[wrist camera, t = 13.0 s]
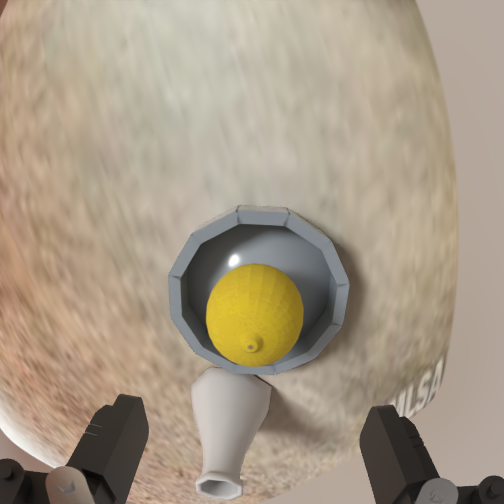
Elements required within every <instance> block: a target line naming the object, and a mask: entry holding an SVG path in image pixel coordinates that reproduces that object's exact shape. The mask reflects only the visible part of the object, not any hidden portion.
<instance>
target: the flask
mask: <svg viewBox="0 0 504 504" xmlns="http://www.w3.org/2000/svg"><path fill="white" fill-rule="evenodd" d="M271 389H272V387H271V386H269V385H268V384H266V383H265V382H263V381H261V380H260V379H258V378H257V377H255V376H254V375H252V374H237V373H233V372H232V373H231V372H229V371H227V370H225V369H223V368H214V367H210V368H208V369H207V370H206V371H205V372H204V373H203V374H202V375H201V376H200V377H199V378H198V379H197V380H196V381H195V382H194V383H193V384H192V385H191V400H192V410H193V415H194V418H195V422H196V425H197V429H198V432H199V437H200V441H201V445H202V449H203V469H202V474H201V476H200V477H199V478H197V480H196V483H195V484H196V490H197V492H198V493H200V494H202V495H205V496H207V497H210V498H212V499H221V500H233V499H235V498H237V497H239V496H241V495H243V485H244V483H243V481H242V480H241V479H240V471H241V467H242V464H243V461H244V457H245V454H246V452H247V450H248V448H249V446H250V445H251V443H252V441H253V439H254V437H255V435H256V433H257V431H258V429H259V428H260V426H261V424H262V422H263V421H264V419H265V417H266V415H267V413H268V411H269V405H270V397H271Z"/></svg>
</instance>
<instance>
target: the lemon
mask: <svg viewBox="0 0 504 504" xmlns="http://www.w3.org/2000/svg"><path fill="white" fill-rule="evenodd" d="M303 312H304V309H303V304H302V299H301V295H300V293H299V291H298V289H297V288H296V286H295V284H294V282H293V281H292V280H291V279H290V278H289V277H288V276H287V275H286V274H285V273H283V272H282V271H280V270H278V269H277V268H275V267H272V266H269V265H266V264H255V263H252V264H246V265H241V266H239V267H237V268H235V269H233V270H231V271H229V272H228V273H227V274H226V275H224V276H223V277H222V278H221V279H220V280H219V281H218V283H217V284H216V286H215V287H214V288H213V290H212V292H211V295H210V297H209V300H208V303H207V311H206V324H207V328H208V333H209V336H210V338H211V340H212V342H213V344H214V346H215V348H216V349H217V350H218V351H219V352H220V353H221V354H222V355H223V356H224V357H226V358H227V359H229V360H230V361H232V362H234V363H236V364H239V365H242V366H248V367H261V366H265V365H269V364H272V363H274V362H276V361H278V360H280V359H281V358H282V357H284V356H285V355H286V354H287V353H288V352H289V351H290V350H291V349H292V347H293V346H294V344H295V343H296V341H297V340H298V337H299V334H300V331H301V328H302V325H303Z"/></svg>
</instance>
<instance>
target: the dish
mask: <svg viewBox="0 0 504 504" xmlns="http://www.w3.org/2000/svg"><path fill="white" fill-rule="evenodd" d="M252 263H255V264H266V265H269V266H272V267H275V268H277V269H278V270H280V271H282V272H283V273H285V274H286V275H287V276H288V277H289V278H290V279H291V280H292V281H293V282H294V284H295V286H296V288H297V289H298V291H299V293H300V295H301V299H302V304H303V309H304V312H303V325H302V328H301V331H300V334H299V337H298V340H297V341H296V343H295V344H294V346H293V347H292V349H291V350H290V351H289V352H288V353H287V354H286V355H285V356H284V357H282V358H281V359H280V360H278V361H276V362H274V363H272V364H269V365H265V366H261V367H248V366H242V365H239V364H236V363H234V362H232V361H230V360H229V359H227V358H226V357H224V356H223V355H222V354H221V353H220V352H219V351H218V350H217V349H216V348H215V346H214V344H213V342H212V340H211V338H210V336H209V333H208V328H207V324H206V311H207V303H208V300H209V297H210V295H211V292H212V290H213V288H214V287H215V286H216V284H217V283H218V281H219V280H220V279H221V278H222V277H223V276H224V275H226V274H227V273H228V272H229V271H231V270H233V269H235V268H237V267H239V266H241V265H246V264H252ZM168 283H169V301H170V317H172V318H171V319H172V321H173V322H174V324H175V325H176V327H177V328H178V330H179V331H180V333H181V334H182V336H183V337H184V339H185V340H186V342H187V343H188V344H189V346H190V347H191V349H192V350H193V352H196V353H195V354H197V355H199V356H201V357H203V358H204V359H206V360H208V361H210V362H212V363H214V364H216V365H217V366H219V367H221V368H223V369H225V370H227V371H229V372H231V373H232V372H233V373H237V374H256V375H275V374H276V375H277V374H280V373H282V372H285V371H287V370H290V369H292V368H294V367H297V366H299V365H302V364H304V363H306V362H309V361H311V360H313V359H314V358H316V357H317V356H318V355H319V354H320V352H321V351H322V350H323V349H324V348H325V347H326V345H327V344H328V343H329V342H330V341H331V340H332V338H333V337H334V336H335V335H336V333H337V332H338V331H339V330H340V329H341V327H342V325H343V321H344V316H345V310H346V304H347V298H348V292H349V286H350V284H349V283H350V282H349V280H348V278H347V275H346V273H345V270H344V268H343V266H342V263H341V261H340V259H339V257H338V254H337V252H336V250H335V247H334V245H333V243H332V241H331V240H330V239H329V238H328V237H327V236H326V235H325V234H324V233H323V232H322V231H321V230H319V229H318V228H316V227H315V226H313V225H312V224H310V223H309V222H307V221H306V220H304V219H303V218H301V217H300V216H298V215H297V214H295V213H294V212H292V211H291V210H289V209H288V208H285V207H270V206H250V205H240V206H239V205H238V206H236V207H235V208H233V209H231V210H229V211H227V212H225V213H223V214H221V215H219V216H217V217H215V218H214V219H212V220H210V221H208V222H206V223H204V224H202V225H200V226H199V227H198V228H197V229H196V230H195V231H194V232H193V233H192V234H191V235H190V237H189V239H188V241H187V242H186V244H185V246H184V247H183V249H182V251H181V253H180V254H179V256H178V258H177V260H176V261H175V263H174V265H173V267H172V268H171V270H170V272H169V275H168Z"/></svg>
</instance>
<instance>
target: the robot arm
mask: <svg viewBox="0 0 504 504" xmlns="http://www.w3.org/2000/svg"><path fill="white" fill-rule="evenodd" d="M148 434H149V426H148V421H147V417H146V413H145V409H144V405H143V401H142V398H141V397H136V396H130V395H125V394H120V395H119V396H118V397H117V399H116V401H115V403H114V404H113V406H110V405H105V406H103V407H102V408H101V409H99V410H98V411H97V412H96V413H95V414H94V416H93V418H92V420H91V421H90V425H88V427H87V428H86V430H85V433H84V434H83V436H82V437H81V439H80V441H79V443H78V445H77V446H76V448H75V450H74V452H73V454H72V456H71V457H70V459H69V461H68V463H67V464H66V465H65V466H61V467H57V468H55V469H53V470H52V471H51V472H50V473H40V472H33V471H26V470H24V469H23V468H22V466H21V465H20V464H19V463H18V462H17V461H15V460H12V459H1V460H0V504H125V502H126V500H127V497H128V494H129V491H130V488H131V485H132V482H133V479H134V476H135V474H136V471H137V468H138V465H139V462H140V459H141V457H142V454H143V451H144V448H145V445H146V443H147V440H148ZM360 449H361V453H362V456H363V459H364V463H365V466H366V469H367V473H368V477H369V480H370V483H371V487H372V491H373V494H374V498H375V501H376V504H504V479H503V478H502V477H499V476H489V477H486V478H485V479H484V480H483V481H482V482H481V483H480V484H479V485H478V486H463V487H456V486H455V485H454V484H453V483H452V482H451V481H449V480H447V479H444V478H440V476H439V474H438V472H437V470H436V468H435V466H434V464H433V462H432V460H431V458H430V455H429V453H428V451H427V449H426V447H425V446H424V443H423V441H422V439H421V437H420V435H419V433H418V431H417V429H416V427H415V425H414V424H413V423H412V422H411V421H410V420H409V419H407V418H406V417H405V416H404V417H399V415H398V413H397V411H396V409H395V407H394V406H393V405H384V406H375V407H372V408H371V409H370V411H369V414H368V417H367V419H366V422H365V424H364V427H363V429H362V432H361V434H360Z"/></svg>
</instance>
